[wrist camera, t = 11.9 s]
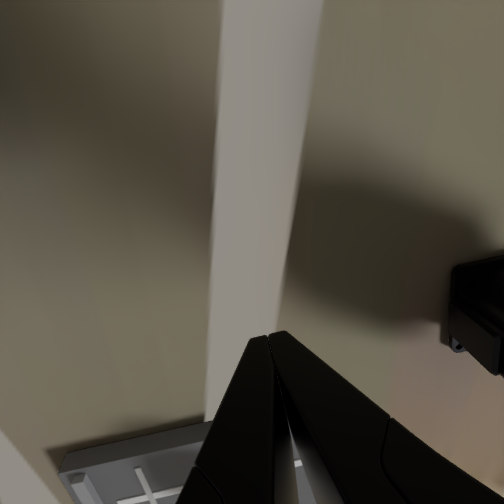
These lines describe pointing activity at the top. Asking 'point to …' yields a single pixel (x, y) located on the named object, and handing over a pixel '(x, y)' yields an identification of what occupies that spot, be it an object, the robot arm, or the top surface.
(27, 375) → the top surface
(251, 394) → the robot arm
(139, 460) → the console
